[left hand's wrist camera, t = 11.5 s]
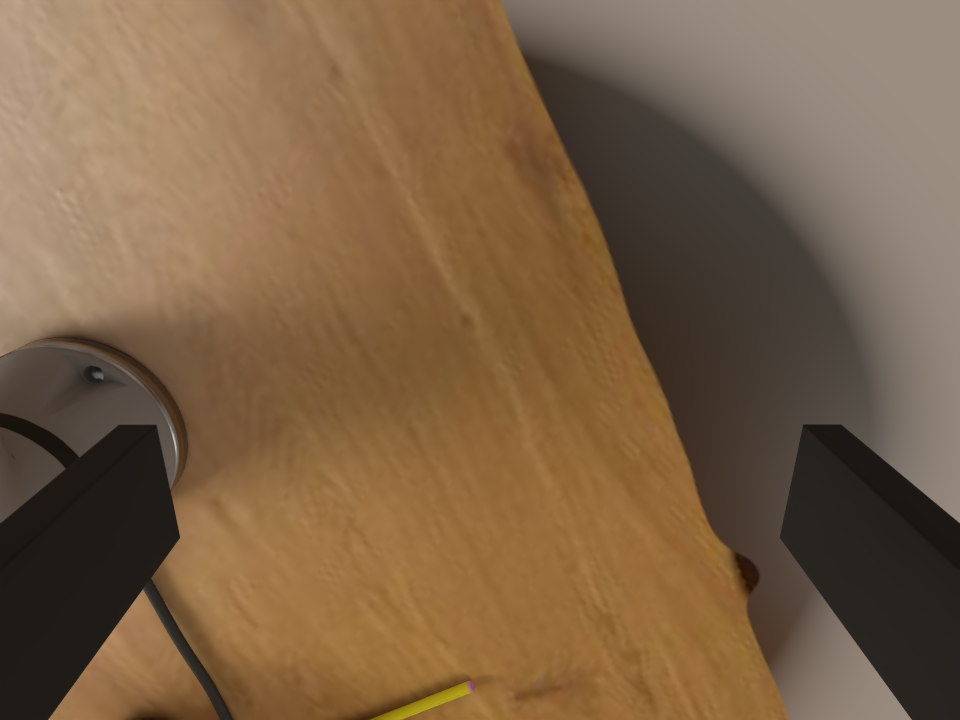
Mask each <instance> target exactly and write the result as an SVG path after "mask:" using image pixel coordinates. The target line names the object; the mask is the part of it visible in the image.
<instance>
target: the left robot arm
mask: <svg viewBox="0 0 960 720" xmlns="http://www.w3.org/2000/svg"><path fill="white" fill-rule="evenodd" d="M186 458H187V434H186V430H185V425H184V422H183V419H182V416H181V414H180V412H179V409H178V407H177V405H176V404H175V402H174V400H173V398H172V397H171V395H170V394H169V393H168V391H167V390H166V389H165V387H164V386H163V385H162V384H161V382H160V381H159V380H158V379H157V378H156V377H155V376H154V375H153V374H152V373H150V372H149V371H148V370H147V369H146V368H145V367H143V366H142V365H141V364H139V363H138V362H137V361H135V360H133V359H132V358H130V357H129V356H127V355H125V354H123V353H121V352H119V351H117V350H115V349H113V348H110V347H108V346H105V345H102V344H99V343H96V342H92V341H88V340H82V339H76V338H51V339H44V340H39V341H35V342H32V343H29V344H26V345H24V346H22V347H20V348H18V349H16V350H14V351H12V352H10V353H8V354H6V355H4V356H1V357H0V720H48V719H49V718H50V716H51V715H52V714H53V712H54V711H55V709H56V708H57V707H58V705H59V704H60V703H61V701H62V700H63V698H64V697H65V696H66V694H67V693H68V692H69V690H70V689H71V687H72V686H73V685H74V683H75V682H76V681H77V679H78V678H79V676H80V675H81V674H82V672H83V671H84V670H85V668H86V667H87V665H88V664H89V663H90V661H91V660H92V658H93V657H94V656H95V654H96V653H97V652H98V650H99V649H100V647H101V646H102V645H103V643H104V642H105V641H106V639H107V638H108V636H109V635H110V634H111V632H112V631H113V630H114V628H115V627H116V625H117V624H118V623H119V621H120V620H121V618H122V617H123V616H124V614H125V613H126V612H127V610H128V609H129V607H130V606H131V605H132V603H133V602H134V601H135V599H136V598H137V596H138V595H139V594H140V592H141V591H142V590H144V591H145V593H146V595H147V597H148V598H149V600H150V602H151V604H152V605H153V607H154V609H155V611H156V613H157V614H158V616H159V618H160V620H161V621H162V623H163V625H164V627H165V628H166V630H167V632H168V634H169V635H170V637H171V639H172V640H173V642H174V644H175V645H176V647H177V648H178V650H179V652H180V653H181V655H182V656H183V658H184V659H185V661H186V662H187V664H188V665H189V667H190V668H191V670H192V671H193V673H194V674H195V676H196V677H197V679H198V680H199V682H200V683H201V685H202V686H203V688H204V690H205V691H206V693H207V695H208V696H209V698H210V700H211V702H212V704H213V705H214V707H215V709H216V711H217V713H218V715H219V717H220V719H221V720H232V717H231V715H230V713H229V711H228V709H227V707H226V705H225V703H224V701H223V699H222V697H221V695H220V693H219V692H218V690H217V688H216V686H215V685H214V683H213V681H212V680H211V678H210V676H209V675H208V673H207V672H206V670H205V669H204V667H203V666H202V664H201V663H200V661H199V660H198V658H197V656H196V655H195V653H194V652H193V650H192V649H191V647H190V646H189V644H188V643H187V641H186V639H185V638H184V636H183V634H182V633H181V631H180V629H179V628H178V626H177V624H176V622H175V621H174V619H173V617H172V615H171V613H170V612H169V610H168V608H167V606H166V604H165V603H164V601H163V599H162V597H161V595H160V594H159V592H158V590H157V588H156V587H155V585H154V583H153V581H152V580H151V577H152V576H153V574H154V573H155V572H156V570H157V569H158V567H159V566H160V565H161V563H162V562H163V561H164V559H165V558H166V556H167V555H168V554H169V552H170V551H171V550H172V548H173V547H174V545H175V544H176V543H177V541H178V540H179V539H180V535H179V530H178V525H177V520H176V515H175V510H174V506H173V501H172V496H171V490H172V489H173V488H174V486H175V485H176V483H177V482H178V480H179V478H180V476H181V475H182V472H183V469H184V467H185V463H186ZM780 539H781V540H782V541H783V543H784V544H785V545H786V547H787V548H788V550H789V551H790V552H791V554H792V555H793V556H794V558H795V559H796V561H797V562H798V563H799V565H800V566H801V567H802V569H803V570H804V572H805V573H806V574H807V576H808V577H809V579H810V580H811V581H812V583H813V584H814V585H815V587H816V588H817V590H818V591H819V592H820V594H821V595H822V596H823V598H824V599H825V601H826V602H827V603H828V605H829V606H830V607H831V609H832V610H833V612H834V613H835V614H836V616H837V617H838V618H839V620H840V621H841V623H842V624H843V625H844V627H845V628H846V629H847V631H848V632H849V634H850V635H851V636H852V638H853V639H854V641H855V642H856V643H857V645H858V646H859V647H860V649H861V650H862V652H863V653H864V654H865V656H866V657H867V658H868V660H869V661H870V663H871V664H872V665H873V667H874V668H875V670H876V671H877V672H878V674H879V675H880V676H881V678H882V679H883V681H884V682H885V683H886V685H887V686H888V687H889V689H890V690H891V692H892V693H893V694H894V696H895V697H896V698H897V700H898V701H899V703H900V704H901V705H902V707H903V708H904V709H905V711H906V712H907V714H908V715H909V716H910V718H911V719H912V720H960V523H959V522H957V521H956V520H955V519H954V518H953V517H951V516H950V515H949V514H948V513H947V512H945V511H944V510H943V509H942V508H941V507H939V506H938V505H937V504H936V503H935V502H933V501H932V500H931V499H930V498H929V497H927V496H926V495H925V494H924V493H923V492H921V491H920V490H919V489H918V488H917V487H915V486H914V485H913V484H912V483H911V482H909V481H908V480H907V479H906V478H905V477H903V476H902V475H901V474H900V473H899V472H897V471H896V470H895V469H894V468H893V467H891V466H890V465H889V464H888V463H887V462H885V461H884V460H883V459H882V458H881V457H879V456H878V455H877V454H876V453H875V452H873V451H872V450H871V449H870V448H869V447H867V446H866V445H865V444H864V443H863V442H861V441H860V440H859V439H858V438H857V437H855V436H854V435H853V434H852V433H851V432H849V431H848V430H847V429H846V428H844V427H843V426H842V425H803V429H802V433H801V438H800V443H799V448H798V453H797V458H796V463H795V467H794V472H793V477H792V482H791V487H790V491H789V496H788V501H787V506H786V510H785V515H784V520H783V525H782V530H781V535H780Z"/></svg>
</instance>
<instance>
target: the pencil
mask: <svg viewBox="0 0 960 720" xmlns="http://www.w3.org/2000/svg"><path fill="white" fill-rule="evenodd" d="M472 692H474V684H473V682H472V681H471V680H469V681H466V682H464V683H461V684H459V685H456V686H454V687H451V688H449V689H446V690H443V691H441V692H438V693H436V694H433V695H431V696H428V697H426V698H423V699H420V700H418V701H415V702H413V703H410V704H408V705H405V706H403V707H400V708H398V709H395V710H392V711H390V712H387V713H385V714H382V715H380V716H377V717H375V718H372V719H370V720H402V719H404V718H407V717H410V716H412V715H415V714H417V713H420V712H422V711H425V710H428V709H430V708H433V707H435V706H438V705H440V704H443V703H446V702H448V701H451V700H453V699H456V698H459V697H461V696H464V695H466V694H469V693H472Z"/></svg>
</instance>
